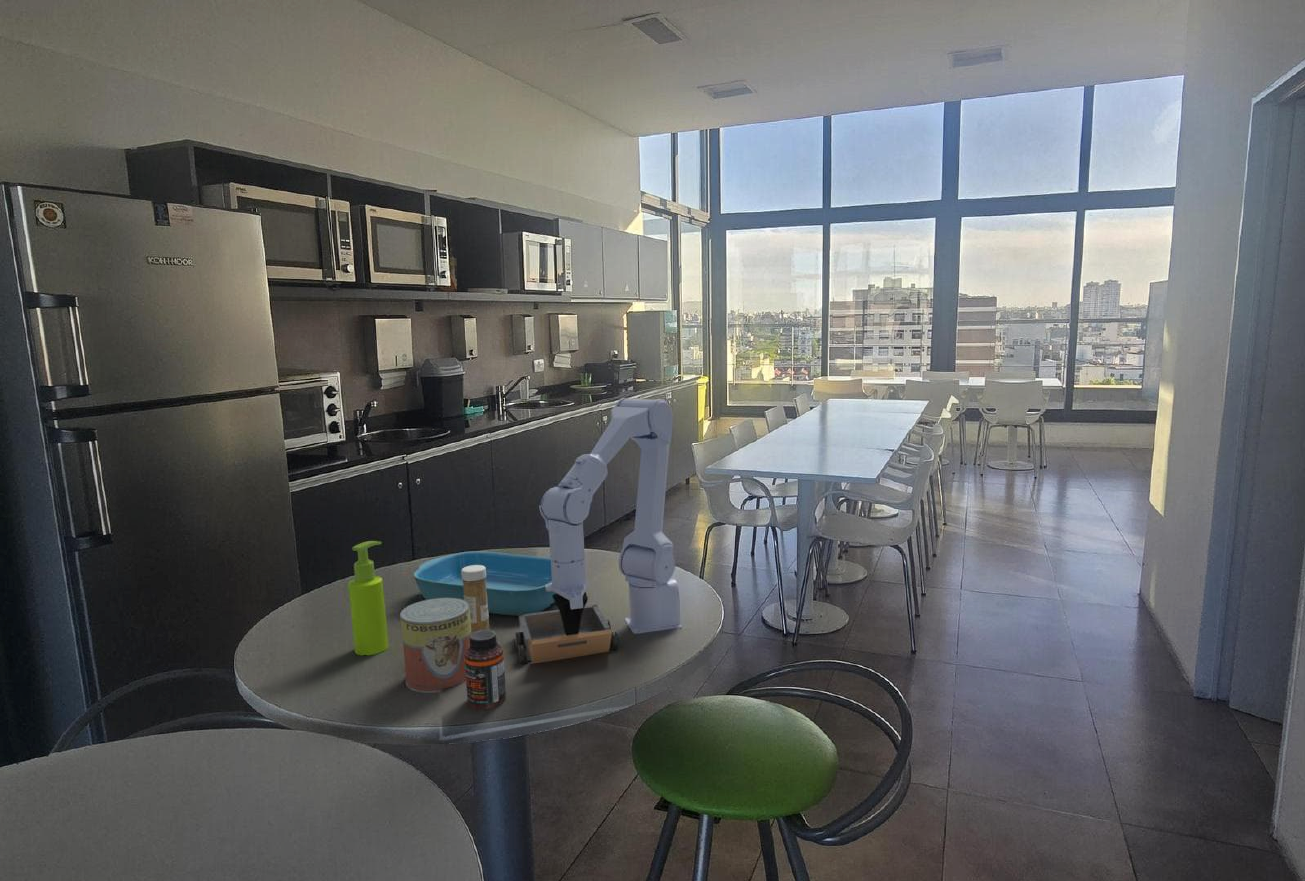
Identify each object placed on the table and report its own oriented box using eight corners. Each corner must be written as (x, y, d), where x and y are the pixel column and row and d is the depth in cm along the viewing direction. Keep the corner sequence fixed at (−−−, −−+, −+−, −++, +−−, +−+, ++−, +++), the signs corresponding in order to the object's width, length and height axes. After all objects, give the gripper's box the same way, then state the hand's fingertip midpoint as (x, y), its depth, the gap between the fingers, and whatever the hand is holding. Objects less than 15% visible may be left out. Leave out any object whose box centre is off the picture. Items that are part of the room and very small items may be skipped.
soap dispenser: (399, 642, 143) (390, 540, 140) (371, 657, 137) (361, 550, 134) (375, 638, 145) (366, 537, 143) (347, 652, 139) (337, 547, 136)
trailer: (603, 625, 148) (602, 603, 147) (618, 652, 135) (617, 628, 134) (513, 638, 143) (512, 615, 142) (521, 667, 130) (519, 642, 130)
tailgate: (607, 647, 135) (611, 629, 131) (608, 651, 134) (611, 633, 130) (531, 659, 131) (531, 640, 127) (531, 663, 131) (532, 644, 127)
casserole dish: (595, 589, 169) (594, 558, 168) (546, 627, 149) (544, 592, 148) (457, 575, 183) (455, 547, 182) (394, 608, 162) (392, 576, 161)
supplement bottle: (459, 709, 117) (454, 639, 115) (482, 691, 122) (477, 624, 121) (492, 715, 115) (487, 644, 113) (513, 697, 120) (509, 629, 118)
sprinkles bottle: (494, 636, 144) (489, 568, 143) (471, 642, 142) (465, 573, 140) (485, 628, 148) (480, 562, 146) (462, 634, 146) (457, 567, 144)
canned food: (412, 699, 121) (406, 627, 119) (400, 672, 130) (394, 605, 129) (482, 682, 126) (477, 613, 124) (465, 657, 136) (461, 593, 134)
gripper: (538, 549, 133) (543, 622, 135) (549, 574, 119) (554, 655, 121) (578, 544, 135) (582, 617, 137) (593, 568, 121) (598, 649, 123)
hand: (572, 634), depth 129 cm, fingers closed, pressing on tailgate
